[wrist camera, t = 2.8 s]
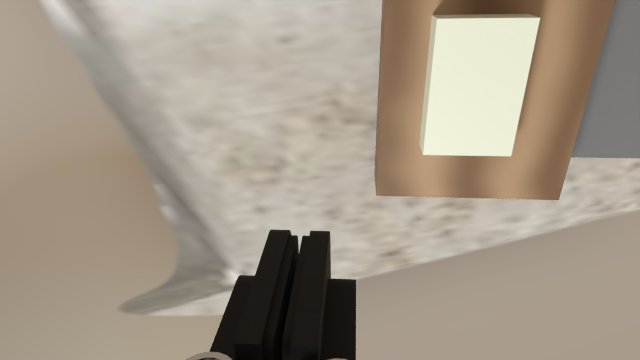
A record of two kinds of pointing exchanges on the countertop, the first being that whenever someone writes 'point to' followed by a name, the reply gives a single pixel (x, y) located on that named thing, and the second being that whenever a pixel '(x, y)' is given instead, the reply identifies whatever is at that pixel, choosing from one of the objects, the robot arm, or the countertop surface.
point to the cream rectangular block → (476, 83)
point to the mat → (614, 91)
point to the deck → (536, 112)
